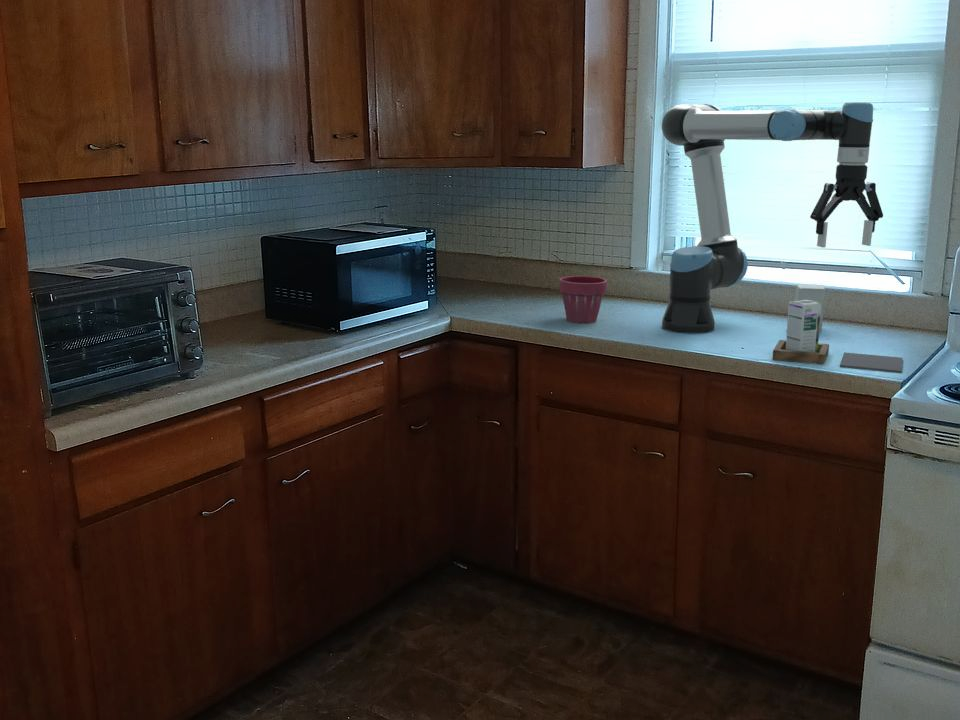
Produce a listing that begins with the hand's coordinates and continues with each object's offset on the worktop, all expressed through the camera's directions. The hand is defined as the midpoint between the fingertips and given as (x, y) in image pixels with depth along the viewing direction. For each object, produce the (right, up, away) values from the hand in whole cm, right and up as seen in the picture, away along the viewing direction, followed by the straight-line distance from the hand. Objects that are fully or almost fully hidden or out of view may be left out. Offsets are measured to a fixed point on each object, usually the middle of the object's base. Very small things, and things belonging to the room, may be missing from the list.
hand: (843, 246), depth 249 cm
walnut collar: (-13, -29, -5) cm, 32 cm away
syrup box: (-13, -29, -5) cm, 33 cm away
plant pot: (-65, -18, +39) cm, 78 cm away
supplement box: (-1, -21, +26) cm, 34 cm away
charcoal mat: (+2, -31, -12) cm, 33 cm away
